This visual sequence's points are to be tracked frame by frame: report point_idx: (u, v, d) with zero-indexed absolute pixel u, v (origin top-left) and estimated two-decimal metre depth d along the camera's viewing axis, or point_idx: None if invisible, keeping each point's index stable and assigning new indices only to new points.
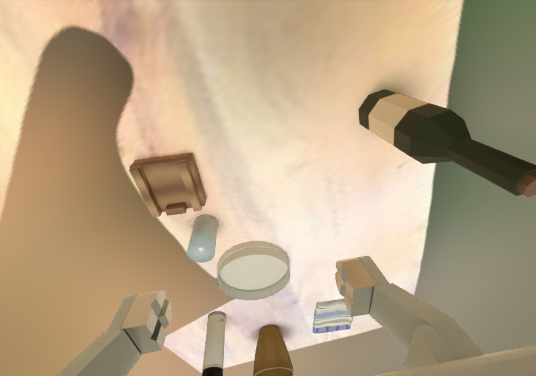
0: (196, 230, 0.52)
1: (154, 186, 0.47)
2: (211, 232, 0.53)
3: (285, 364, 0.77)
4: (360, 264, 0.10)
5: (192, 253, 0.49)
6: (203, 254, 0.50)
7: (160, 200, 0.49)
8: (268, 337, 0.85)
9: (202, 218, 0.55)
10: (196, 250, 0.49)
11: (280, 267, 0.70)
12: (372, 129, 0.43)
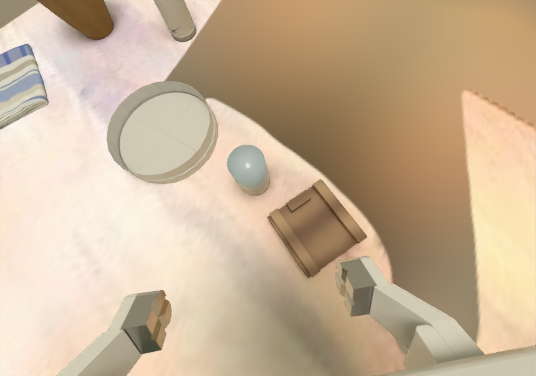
0: (264, 181, 0.39)
1: (332, 221, 0.38)
2: (244, 187, 0.39)
3: None
4: (360, 264, 0.10)
5: (256, 158, 0.35)
6: (241, 161, 0.35)
7: (319, 202, 0.39)
8: (92, 20, 0.54)
9: (262, 191, 0.42)
10: (253, 165, 0.35)
11: (131, 150, 0.48)
12: None
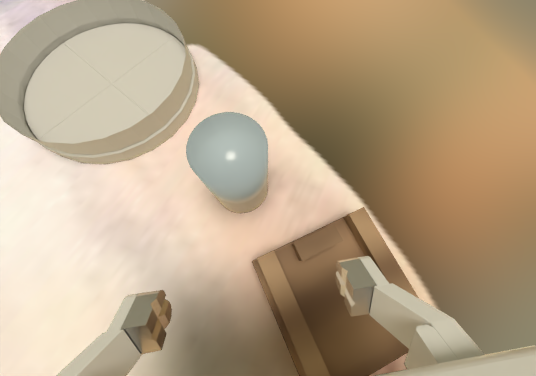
0: (258, 192, 0.20)
1: None
2: (217, 197, 0.20)
3: None
4: (360, 264, 0.10)
5: (251, 143, 0.16)
6: (218, 144, 0.16)
7: (353, 249, 0.21)
8: None
9: (251, 207, 0.24)
10: (241, 156, 0.16)
11: (44, 98, 0.28)
12: None
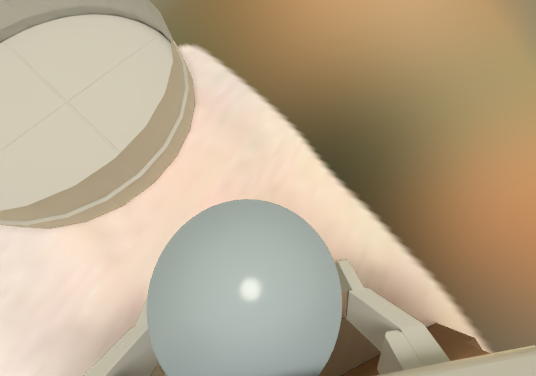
0: None
1: None
2: None
3: None
4: (337, 268, 0.10)
5: (301, 284, 0.07)
6: (225, 286, 0.07)
7: None
8: None
9: None
10: (279, 323, 0.07)
11: None
12: None
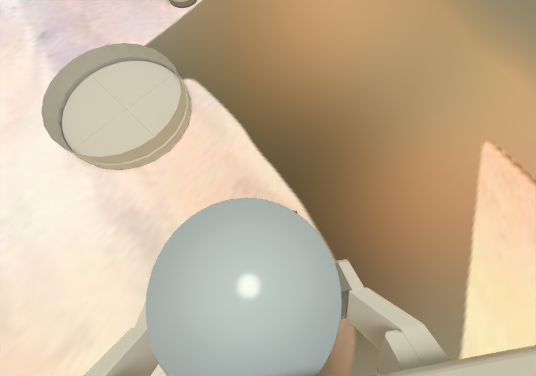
0: None
1: None
2: None
3: None
4: (337, 268, 0.10)
5: (300, 283, 0.07)
6: (224, 285, 0.07)
7: None
8: None
9: None
10: (279, 321, 0.07)
11: (76, 118, 0.38)
12: None
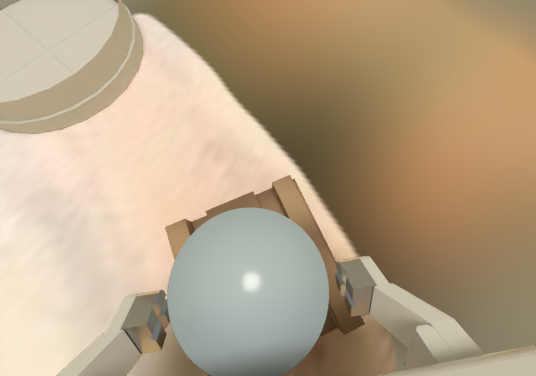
0: None
1: None
2: None
3: None
4: (360, 264, 0.10)
5: (295, 278, 0.08)
6: (232, 281, 0.08)
7: None
8: None
9: None
10: (277, 310, 0.08)
11: None
12: None
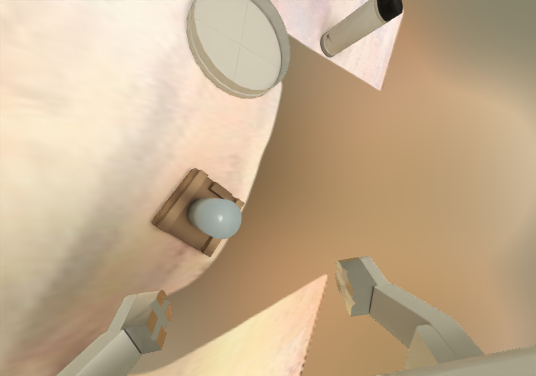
0: None
1: None
2: (195, 217, 0.35)
3: None
4: (360, 264, 0.10)
5: (230, 227, 0.34)
6: (222, 215, 0.33)
7: None
8: None
9: (195, 227, 0.40)
10: (222, 228, 0.33)
11: (213, 4, 0.44)
12: None
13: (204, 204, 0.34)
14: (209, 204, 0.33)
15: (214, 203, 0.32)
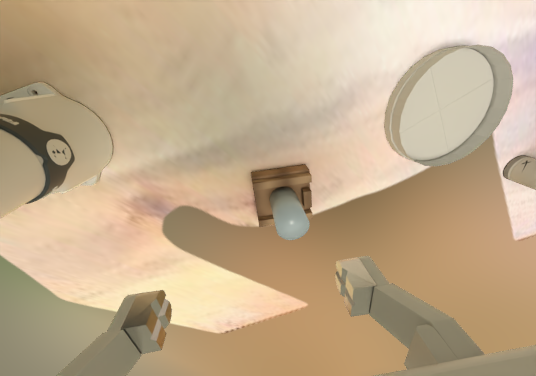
0: None
1: None
2: (278, 203, 0.42)
3: None
4: (360, 264, 0.10)
5: (290, 234, 0.40)
6: (295, 224, 0.39)
7: None
8: None
9: (270, 203, 0.47)
10: (286, 230, 0.40)
11: (456, 62, 0.41)
12: None
13: (291, 204, 0.40)
14: (295, 210, 0.39)
15: (298, 214, 0.38)
